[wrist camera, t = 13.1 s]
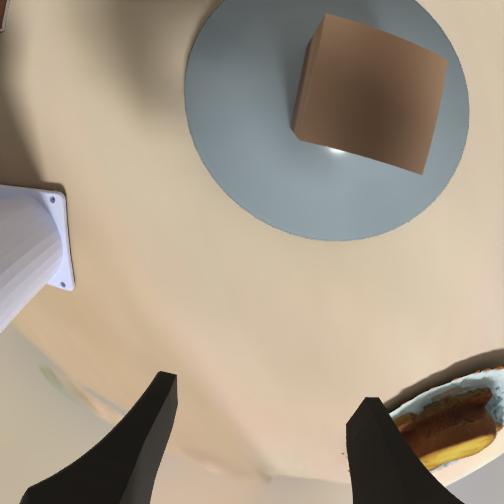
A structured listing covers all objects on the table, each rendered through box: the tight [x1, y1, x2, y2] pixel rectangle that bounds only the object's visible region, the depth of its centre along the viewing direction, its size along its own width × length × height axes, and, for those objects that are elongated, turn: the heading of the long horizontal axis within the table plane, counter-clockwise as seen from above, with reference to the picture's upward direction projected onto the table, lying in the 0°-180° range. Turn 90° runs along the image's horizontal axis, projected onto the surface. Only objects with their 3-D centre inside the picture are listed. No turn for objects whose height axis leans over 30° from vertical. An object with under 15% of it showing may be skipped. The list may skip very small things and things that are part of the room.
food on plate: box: [342, 366, 504, 473], centre depth 26 cm, size 25×25×7 cm
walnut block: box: [290, 13, 448, 175], centre depth 11 cm, size 4×4×6 cm
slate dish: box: [184, 0, 469, 241], centre depth 14 cm, size 16×16×1 cm
